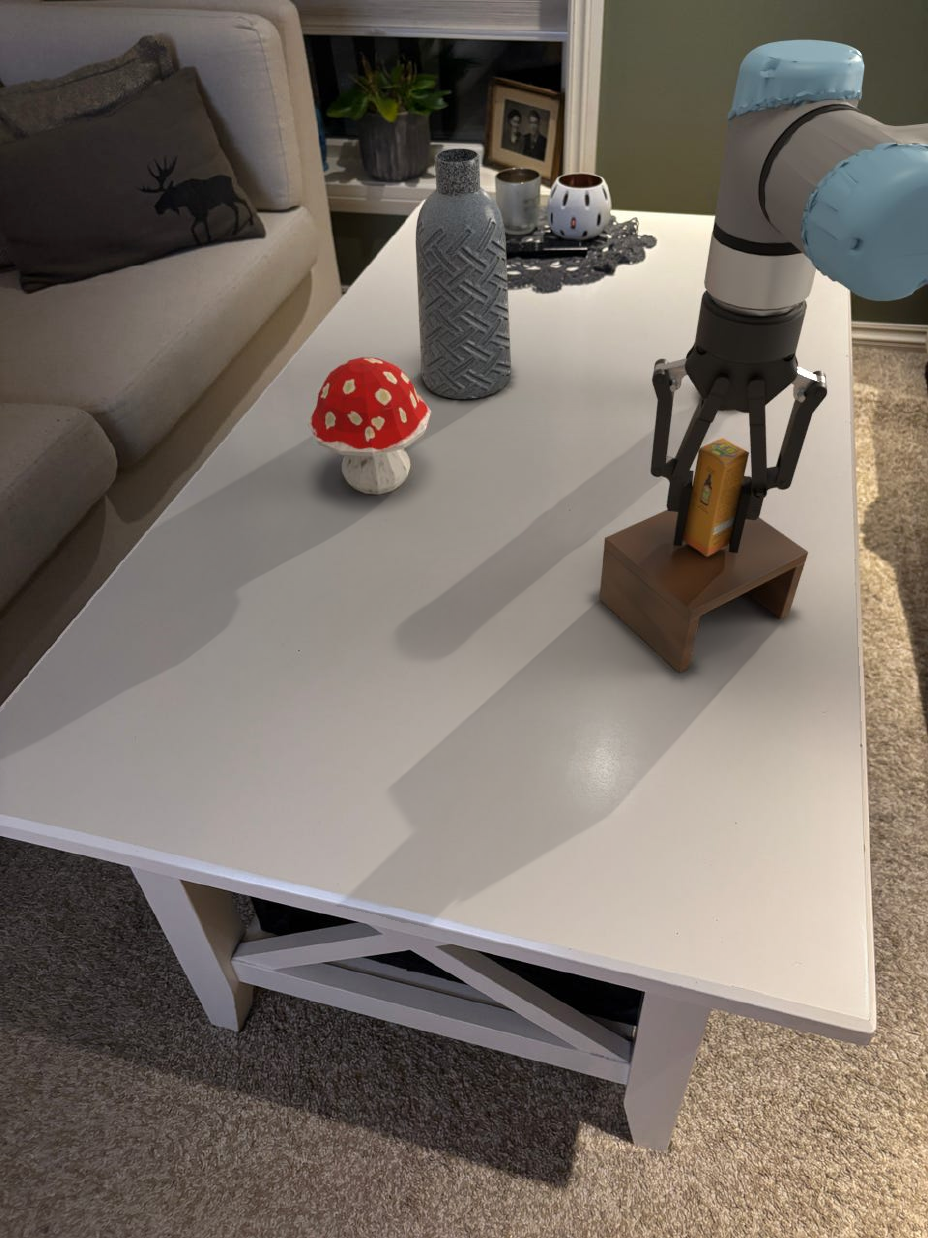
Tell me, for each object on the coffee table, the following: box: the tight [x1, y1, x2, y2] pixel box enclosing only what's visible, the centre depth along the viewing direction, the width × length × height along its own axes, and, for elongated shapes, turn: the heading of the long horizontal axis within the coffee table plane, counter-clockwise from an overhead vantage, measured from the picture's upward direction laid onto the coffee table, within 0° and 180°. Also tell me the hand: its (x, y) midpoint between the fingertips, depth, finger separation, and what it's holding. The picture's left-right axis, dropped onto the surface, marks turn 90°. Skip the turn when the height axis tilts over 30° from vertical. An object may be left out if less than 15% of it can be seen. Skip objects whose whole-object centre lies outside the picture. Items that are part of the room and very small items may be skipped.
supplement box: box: [683, 438, 750, 557], centre depth 77 cm, size 3×3×10 cm
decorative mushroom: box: [307, 356, 432, 495], centre depth 99 cm, size 14×14×15 cm
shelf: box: [598, 509, 809, 674], centre depth 84 cm, size 12×14×8 cm
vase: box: [415, 147, 512, 400], centre depth 110 cm, size 12×12×28 cm
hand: (706, 539), depth 80 cm, fingers closed on supplement box, 4 cm apart
